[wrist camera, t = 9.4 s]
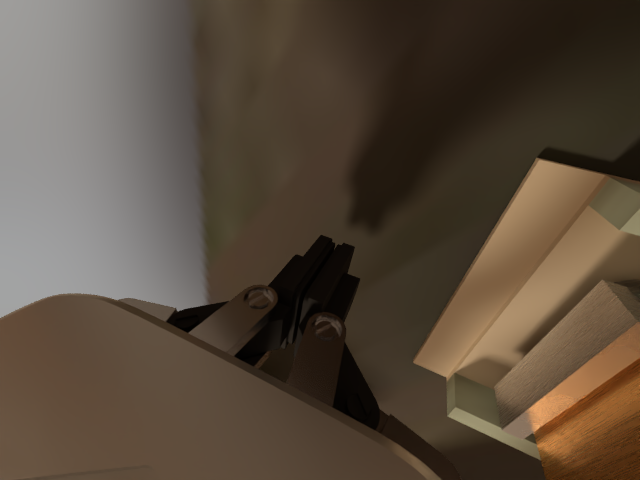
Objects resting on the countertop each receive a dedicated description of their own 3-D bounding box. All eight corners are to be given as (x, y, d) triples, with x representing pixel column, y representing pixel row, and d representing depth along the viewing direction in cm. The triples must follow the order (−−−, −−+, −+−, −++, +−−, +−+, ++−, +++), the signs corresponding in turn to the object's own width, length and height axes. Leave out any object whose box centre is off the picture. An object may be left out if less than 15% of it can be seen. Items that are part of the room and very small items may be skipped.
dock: (1123, 294, 6) (1672, 461, 4) (669, 470, 13) (731, 575, 10) (536, 157, 10) (577, 188, 7) (413, 358, 16) (407, 416, 14)
